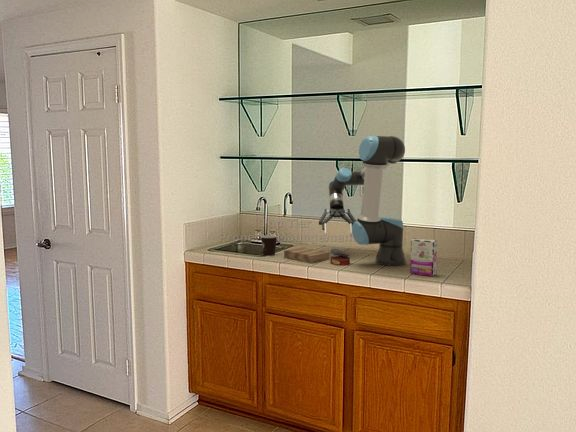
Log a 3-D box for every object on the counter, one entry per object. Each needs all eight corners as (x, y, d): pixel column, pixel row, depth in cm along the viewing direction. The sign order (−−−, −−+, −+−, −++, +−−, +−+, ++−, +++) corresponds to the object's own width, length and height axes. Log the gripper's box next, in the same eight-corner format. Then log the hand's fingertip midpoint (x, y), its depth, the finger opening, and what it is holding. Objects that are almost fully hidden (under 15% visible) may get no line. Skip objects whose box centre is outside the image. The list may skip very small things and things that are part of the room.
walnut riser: (329, 259, 275) (329, 252, 275) (311, 263, 265) (311, 255, 265) (302, 254, 289) (302, 246, 289) (284, 257, 280) (284, 250, 279)
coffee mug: (276, 256, 284) (276, 238, 282) (260, 256, 284) (260, 238, 283) (277, 251, 295) (277, 234, 294) (262, 251, 295) (262, 234, 294)
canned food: (330, 271, 268) (325, 253, 271) (347, 268, 271) (342, 250, 274) (336, 266, 257) (331, 247, 260) (355, 262, 260) (349, 243, 263)
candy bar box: (436, 274, 242) (437, 240, 240) (432, 276, 238) (434, 241, 236) (413, 271, 248) (414, 237, 246) (409, 273, 244) (410, 239, 242)
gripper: (358, 207, 289) (361, 238, 276) (313, 207, 290) (314, 238, 277) (359, 199, 283) (362, 230, 270) (314, 198, 284) (314, 230, 271)
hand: (338, 234), depth 273 cm, fingers open, 13 cm apart
